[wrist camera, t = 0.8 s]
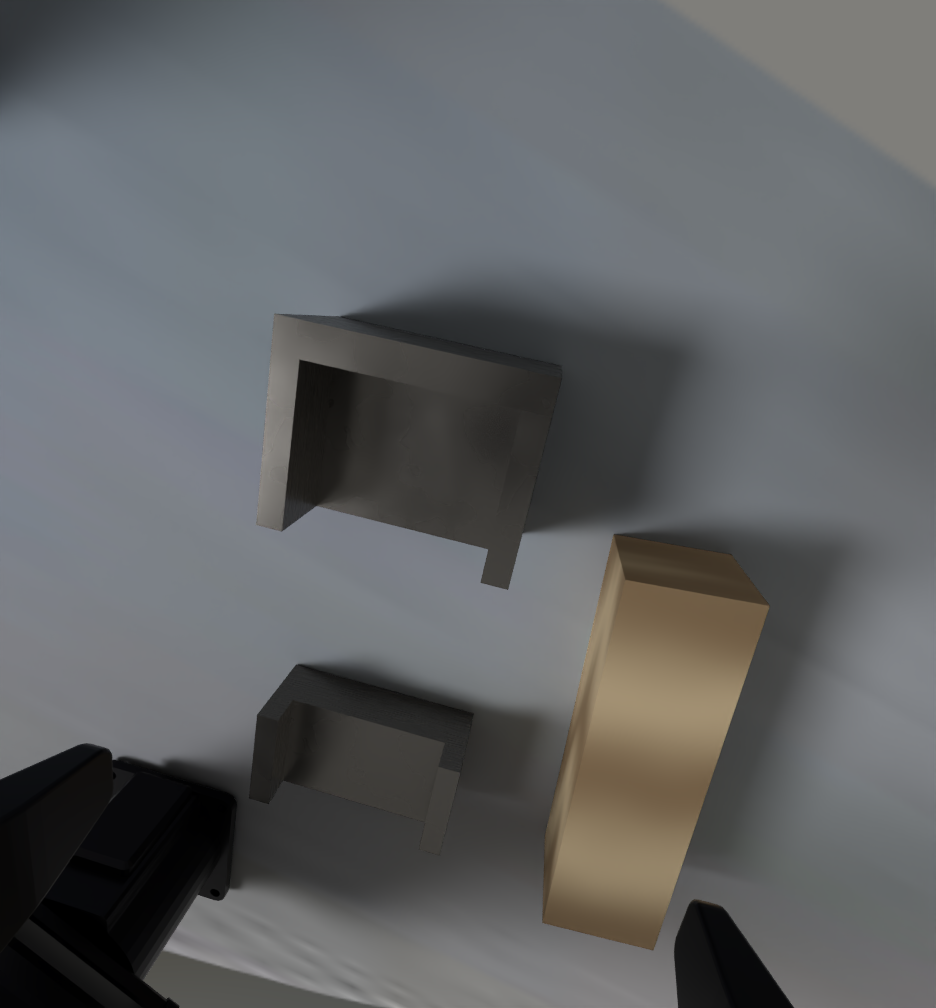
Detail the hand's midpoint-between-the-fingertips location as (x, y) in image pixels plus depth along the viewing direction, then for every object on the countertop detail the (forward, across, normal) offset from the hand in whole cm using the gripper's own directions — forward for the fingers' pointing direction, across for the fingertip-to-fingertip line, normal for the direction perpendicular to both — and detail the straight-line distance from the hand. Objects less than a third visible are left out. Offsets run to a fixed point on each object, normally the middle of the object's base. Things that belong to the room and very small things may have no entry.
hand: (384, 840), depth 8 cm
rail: (+13, -7, +6) cm, 16 cm away
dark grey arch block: (+13, +3, +9) cm, 16 cm away
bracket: (+13, +2, -3) cm, 13 cm away
